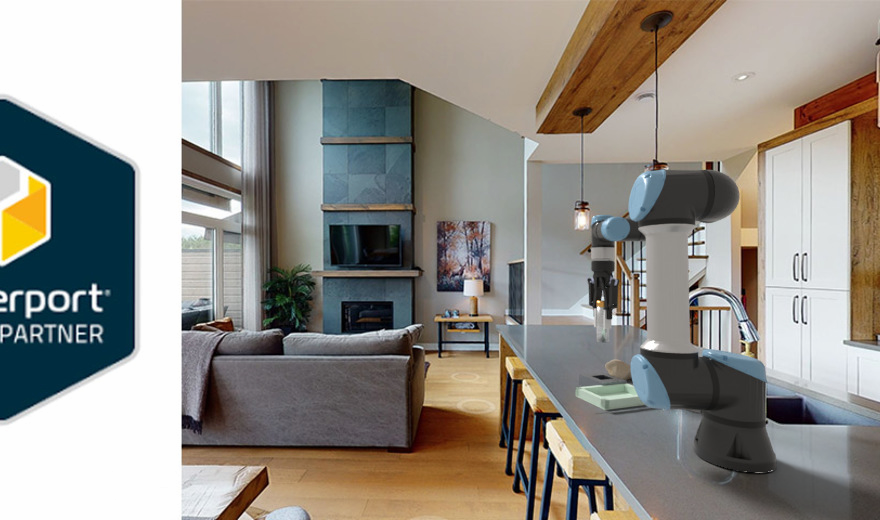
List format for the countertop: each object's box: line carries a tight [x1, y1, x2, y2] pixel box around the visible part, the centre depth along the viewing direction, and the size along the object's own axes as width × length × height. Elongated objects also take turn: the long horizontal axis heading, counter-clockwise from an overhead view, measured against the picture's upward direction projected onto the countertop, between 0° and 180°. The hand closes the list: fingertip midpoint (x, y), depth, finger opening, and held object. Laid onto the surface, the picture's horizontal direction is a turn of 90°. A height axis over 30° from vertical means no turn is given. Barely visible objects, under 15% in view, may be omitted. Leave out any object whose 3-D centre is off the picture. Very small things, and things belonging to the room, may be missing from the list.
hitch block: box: [578, 371, 628, 387], centre depth 146 cm, size 12×10×4 cm
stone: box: [604, 359, 632, 381], centre depth 158 cm, size 10×7×10 cm
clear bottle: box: [596, 299, 610, 344], centre depth 146 cm, size 4×4×14 cm
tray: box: [575, 382, 646, 411], centre depth 133 cm, size 20×14×3 cm
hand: (602, 327), depth 146 cm, fingers closed on clear bottle, 4 cm apart
